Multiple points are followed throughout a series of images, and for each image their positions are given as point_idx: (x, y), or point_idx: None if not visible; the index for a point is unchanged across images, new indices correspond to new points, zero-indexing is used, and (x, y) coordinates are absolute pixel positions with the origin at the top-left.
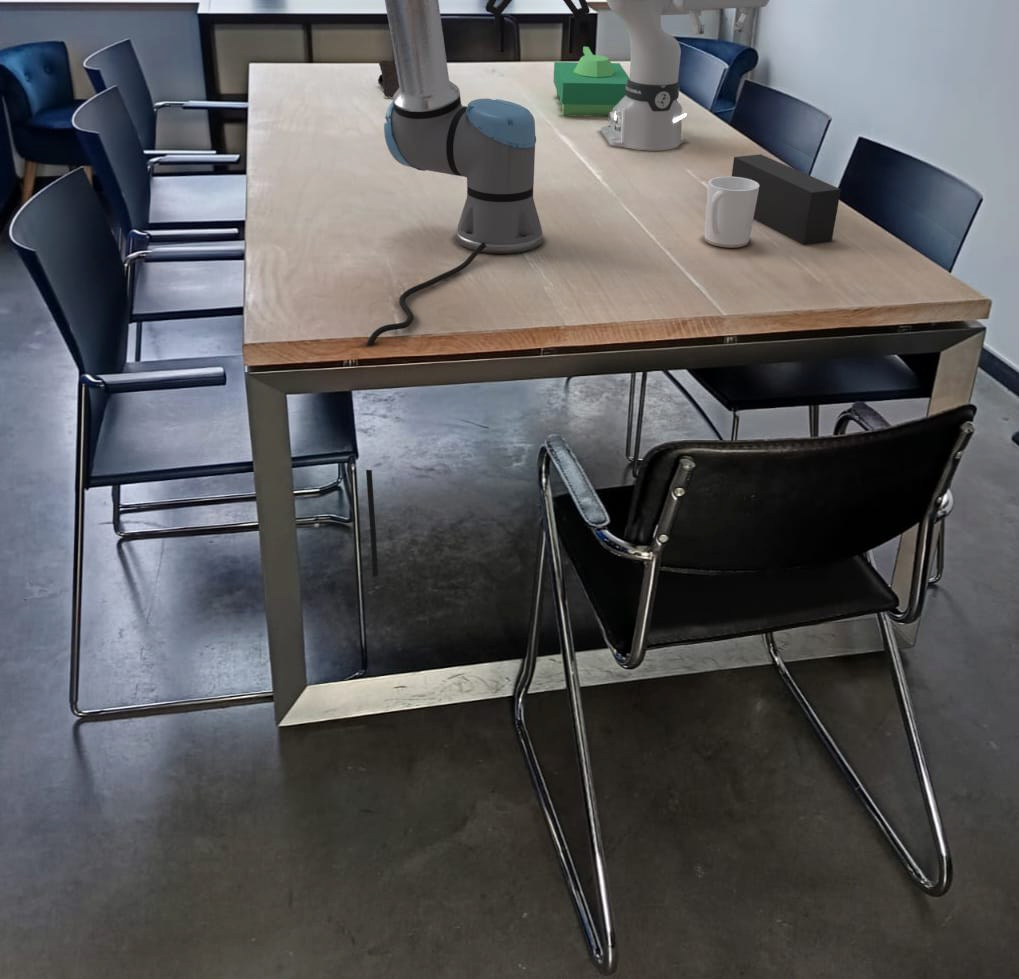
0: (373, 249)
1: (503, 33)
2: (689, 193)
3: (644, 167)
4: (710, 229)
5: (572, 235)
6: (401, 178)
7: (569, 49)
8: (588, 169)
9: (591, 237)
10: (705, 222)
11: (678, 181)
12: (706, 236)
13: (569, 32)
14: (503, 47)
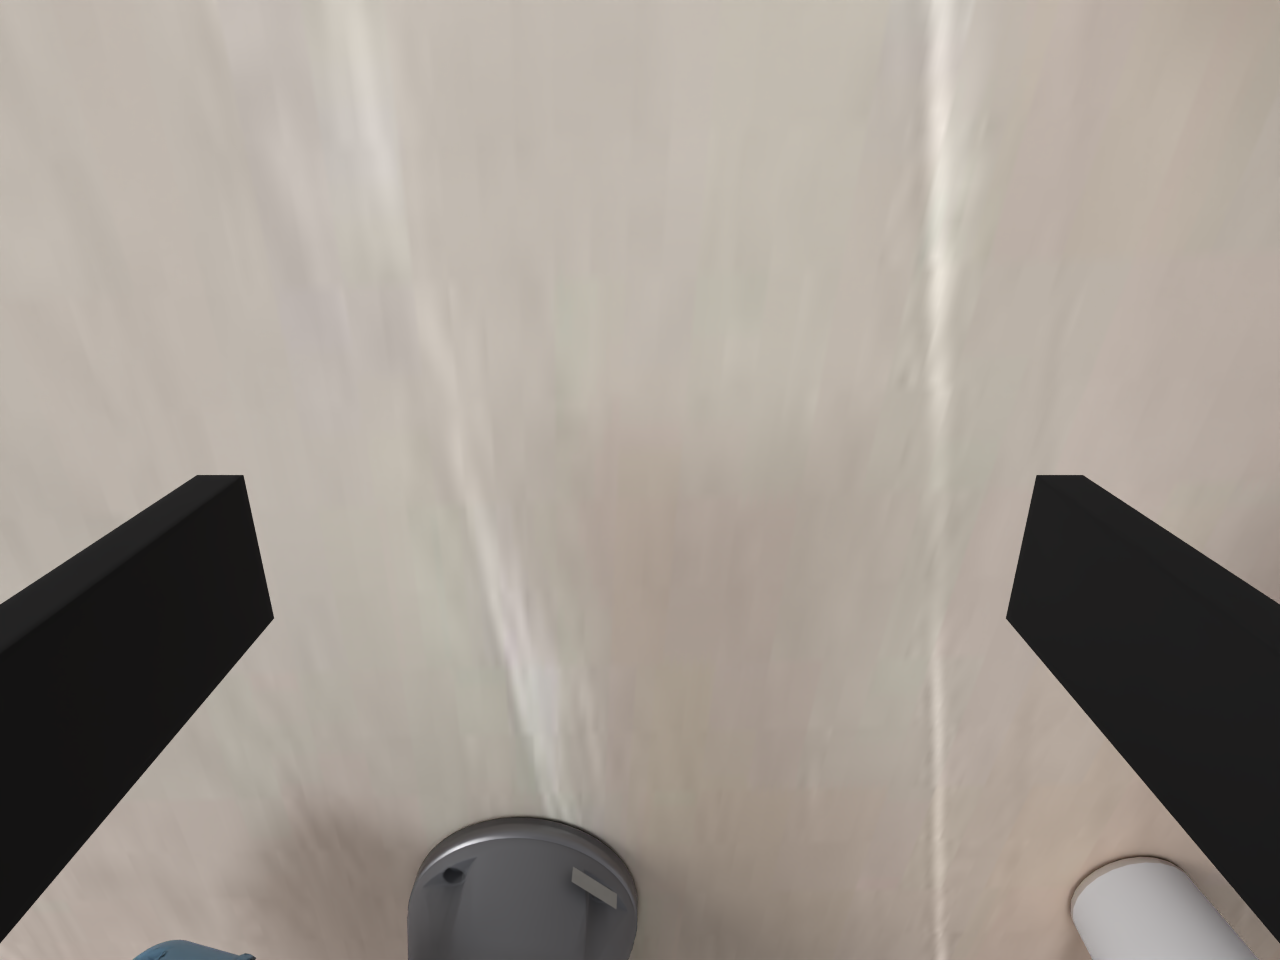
0: (222, 947)
1: (144, 763)
2: (1237, 495)
3: (1221, 89)
4: (1090, 955)
5: (723, 863)
6: (84, 331)
7: (1033, 641)
8: (925, 142)
9: (772, 875)
10: (1096, 935)
11: (1274, 334)
12: (1076, 920)
13: (1153, 743)
14: (244, 645)
